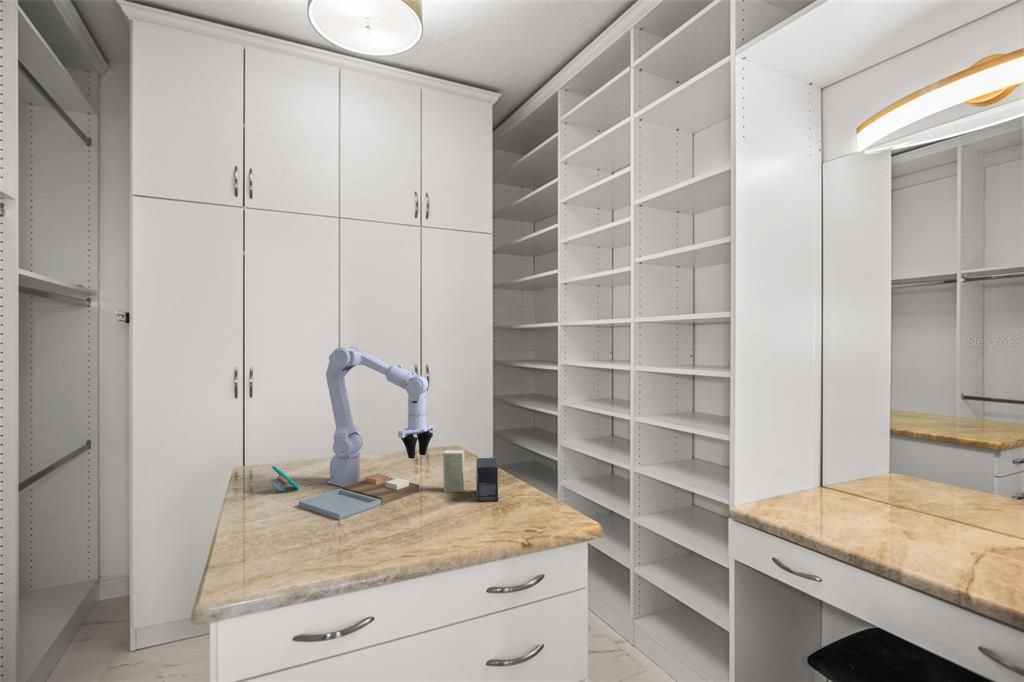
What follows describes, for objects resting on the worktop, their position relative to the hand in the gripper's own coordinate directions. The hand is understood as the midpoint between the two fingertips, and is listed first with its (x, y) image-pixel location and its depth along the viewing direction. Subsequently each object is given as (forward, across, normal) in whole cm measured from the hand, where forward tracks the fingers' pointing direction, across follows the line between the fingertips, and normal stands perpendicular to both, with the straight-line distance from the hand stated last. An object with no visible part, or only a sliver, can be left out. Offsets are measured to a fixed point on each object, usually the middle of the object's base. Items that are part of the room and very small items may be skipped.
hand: (417, 456), depth 161 cm
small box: (+10, +4, -24) cm, 27 cm away
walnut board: (+9, -11, +4) cm, 15 cm away
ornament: (+10, -26, +30) cm, 42 cm away
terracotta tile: (+7, -8, +9) cm, 14 cm away
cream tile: (+7, -8, 0) cm, 11 cm away
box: (+9, -26, +4) cm, 28 cm away
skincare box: (+10, +4, -12) cm, 16 cm away
